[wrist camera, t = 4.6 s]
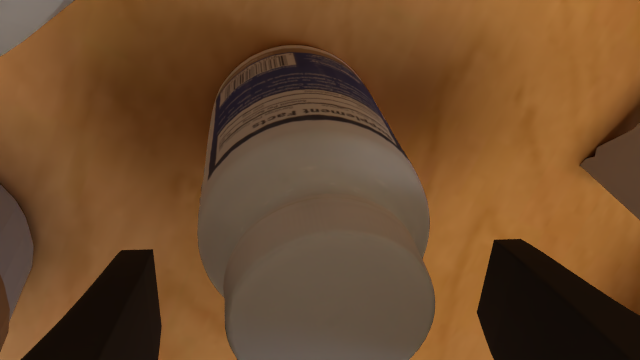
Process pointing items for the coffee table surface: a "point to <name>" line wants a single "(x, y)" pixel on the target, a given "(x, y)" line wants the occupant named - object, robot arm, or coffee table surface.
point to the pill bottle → (312, 215)
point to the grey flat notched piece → (619, 168)
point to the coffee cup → (12, 258)
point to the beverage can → (25, 19)
